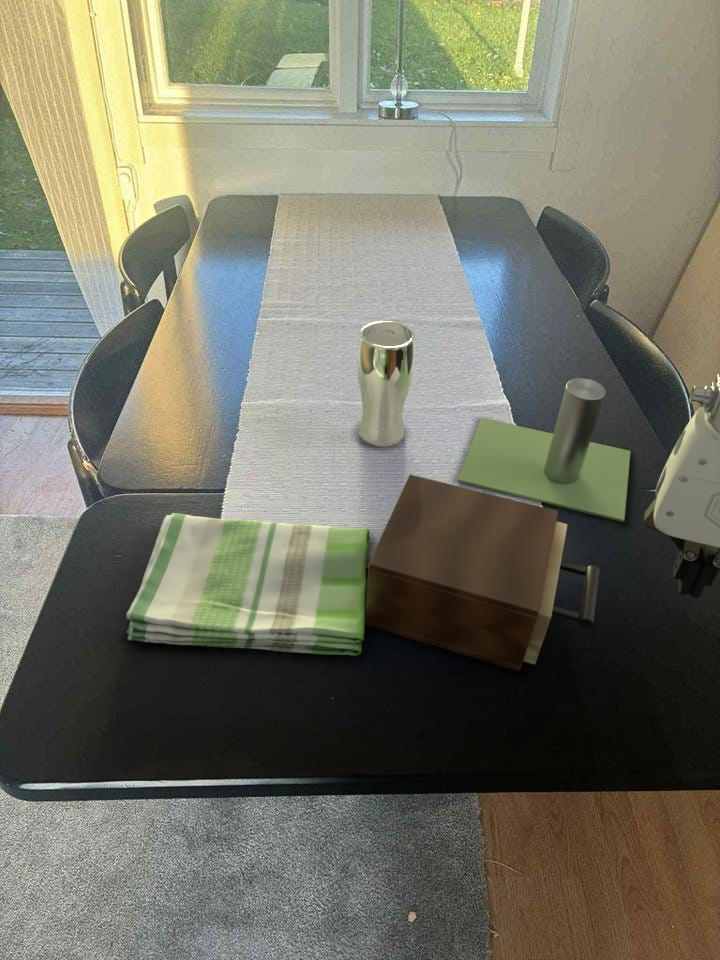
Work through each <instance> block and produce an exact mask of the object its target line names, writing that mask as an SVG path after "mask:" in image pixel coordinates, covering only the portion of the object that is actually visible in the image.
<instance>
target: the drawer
mask: <svg viewBox="0 0 720 960" xmlns="http://www.w3.org/2000/svg"><path fill="white" fill-rule="evenodd" d="M567 530H568V523H564V522H561V521H557V520H556V525H555V530H554V535H553V541H552V546H551V551H550V556H549V561H548V566H547V571H546V577H545V582H544V587H543V592H542V597H541V602H540V607H539V612H538V615H537V618H536V622H535V625H534V628H533V631H532V634H531V637H530V641H529V644H528V647H527V650H526V653H525V656H524V660H523V662H525V663H527V664H531V665H536V663H537V662H538V661H537V660H538V657H539V655H540V652H541V648H542V645H543V643H544V640H545V637H546V634H547V631H548V627H549V625H550V623H551V619H552V616H556V617H560V618H563V619H565V620H566V619H567V620H570V621H574V622H577V623H578V625H579V626H580V627H581V628H583V629H587V630H590V629H592V628H594V626H595V622H596V613H597V606H598V605H597V603H598V595H599V587H600V578H601V569H600V567H598V566H596V565H592V564H591V565H588V566H586V567H585V566H580V565H577V564H573V563H569V562H565V561H562V559H563V554H564V546H565V541H566V536H567ZM560 570H561V571H564V572H569V573H572V574H576V575H580V576H584V579H583V586H582V591H581V592H582V593H581V601H580V607H579V612H576V611H573V610H569V609H565V608H562V607H558V606H555V605H554V604H555V598H556V592H557V587H558V581H559V575H560Z"/></svg>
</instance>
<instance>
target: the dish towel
mask: <svg viewBox="0 0 720 960" xmlns="http://www.w3.org/2000/svg"><path fill="white" fill-rule="evenodd" d="M370 532H371V531H370V529H368V528H364V527H362V528H355V527H353V528H352V527H343V526H342V527H341V526H329V525H327V526H325V525H315V524H306V523H281V522H270V521H269V522H268V521H262V520H251V519H238V518H237V519H236V518H235V519H228V518H227V519H226V518H223V519H222V518H215V517H214V518H213V517H206V516H196V515H195V516H194V515H191V514H185V513H180V512H172V513H171V514H166V515H165V516H164V518H163V520H162V523H161V525H160V529H159V532H158V534H157V537H156V539H155V543H154V546H153V548H152V552H151V555H150V557H149V561H148V563H147V565H146V569H145V571H144V575H143V577H142V581H141V584H140V587H139V589H138V591H137V593H136V595H135V597H134V599H133V601H132V602H131V604H130V607H129V609H128V611H127V612H126V614H125V615H126V619H127V620H128V621H130V622H129V625H128V630H127V631H126V633H127V635H128V636H127V640H128V641H136V642H144V643H154V644H167V645H175V646H193V647H194V646H195V647H196V646H197V647H198V646H199V647H211V648H226V649H237V648H238V649H254V650H265V651H272V652H282V653H299V654H312V655H325V656H326V655H329V656H333V655H334V656H338V655H339V656H352V657H354V656H355V657H357V656H358V655H360V654H361V653H362V642H363V641H364V640H365V626H366V625H365V618H366V594H367V562H368V551H369V547H368V546H369V543H370Z"/></svg>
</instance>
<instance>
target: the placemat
mask: <svg viewBox="0 0 720 960" xmlns="http://www.w3.org/2000/svg"><path fill="white" fill-rule="evenodd" d="M552 437H553V433H552V432H547V431H543V430H540V429H539V430H538V429H534V428H529V427H525V426H520V425H516V424H511V423H508V422H507V423H506V422H503V421H497V420H493V419H489V418H484V417H481V418H480V421H479V424H478V427H477V429H476V432H475V435H474V437H473V439H472V442H471V445H470V448H469V450H468V453H467V456H466V459H465V461H464V464H463V467H462V469H461V471H460V474H459V477H458V479H457V480H458V483H461V484H465V485H469V486H474V487H478V488H482V489H486V490H490V491H494V492H497V493H502V494H505V495H511V496H515V497H519V498H523V499H526V500H531V501H535V502H539V503H544V504H548V505H552V506H556V507H559V508H562V509H563V508H564V509H568V510H571V511H575V512H580V513H583V514H588V515H592V516H596V517H601V518H604V519H609V520H612V521H616V522H621V523H625V517H626V507H627V497H628V486H629V485H628V484H629V473H630V461H631V450H628V449H625V448H621V447H620V448H619V447H615V446H610V445H605V444H601V443H597V442H594V441H593V442H592V441H590V444H589V447H588V450H587V454H586V457H585V460H584V463H583V466H582V470H581V473H580V476H579V479H578V480H577V481H576V482H574V483H572V484H560V483H556V482H554V481H552V480H550V479H549V478H548V477H547V476H546V475H545V473H544V467H545V463H546V459H547V456H548V452H549V448H550V444H551V441H552Z"/></svg>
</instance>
